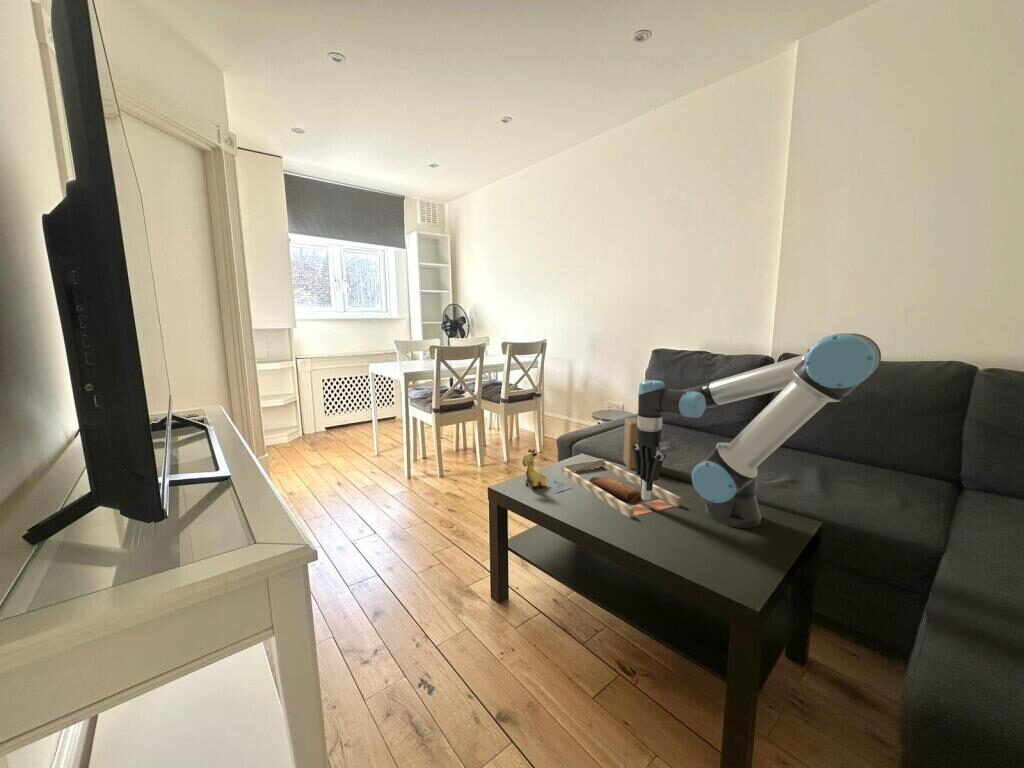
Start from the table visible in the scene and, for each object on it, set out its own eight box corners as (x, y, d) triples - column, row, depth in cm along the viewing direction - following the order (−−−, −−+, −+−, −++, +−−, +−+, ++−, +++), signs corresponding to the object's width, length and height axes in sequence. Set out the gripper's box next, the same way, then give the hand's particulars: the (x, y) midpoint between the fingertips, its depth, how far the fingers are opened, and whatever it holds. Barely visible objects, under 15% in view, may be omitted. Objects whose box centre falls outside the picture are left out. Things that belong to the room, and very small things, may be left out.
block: (653, 470, 165) (655, 423, 163) (628, 470, 166) (630, 423, 163) (645, 462, 175) (647, 417, 173) (622, 462, 176) (624, 417, 173)
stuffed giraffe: (505, 489, 148) (505, 447, 146) (541, 478, 159) (542, 438, 157) (534, 504, 135) (535, 458, 133) (571, 490, 146) (572, 448, 144)
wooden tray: (680, 506, 132) (681, 494, 131) (629, 518, 124) (629, 506, 123) (604, 467, 169) (605, 458, 169) (561, 474, 161) (561, 465, 160)
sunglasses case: (644, 492, 139) (636, 481, 135) (634, 509, 136) (626, 498, 133) (604, 476, 153) (596, 466, 150) (594, 491, 151) (586, 482, 147)
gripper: (673, 432, 124) (669, 504, 127) (644, 423, 136) (641, 489, 139) (654, 434, 121) (651, 508, 124) (626, 425, 133) (623, 493, 136)
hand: (645, 498), depth 132 cm, fingers closed
